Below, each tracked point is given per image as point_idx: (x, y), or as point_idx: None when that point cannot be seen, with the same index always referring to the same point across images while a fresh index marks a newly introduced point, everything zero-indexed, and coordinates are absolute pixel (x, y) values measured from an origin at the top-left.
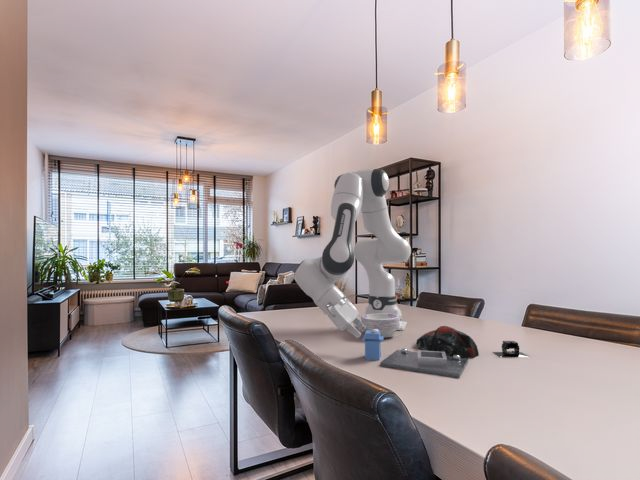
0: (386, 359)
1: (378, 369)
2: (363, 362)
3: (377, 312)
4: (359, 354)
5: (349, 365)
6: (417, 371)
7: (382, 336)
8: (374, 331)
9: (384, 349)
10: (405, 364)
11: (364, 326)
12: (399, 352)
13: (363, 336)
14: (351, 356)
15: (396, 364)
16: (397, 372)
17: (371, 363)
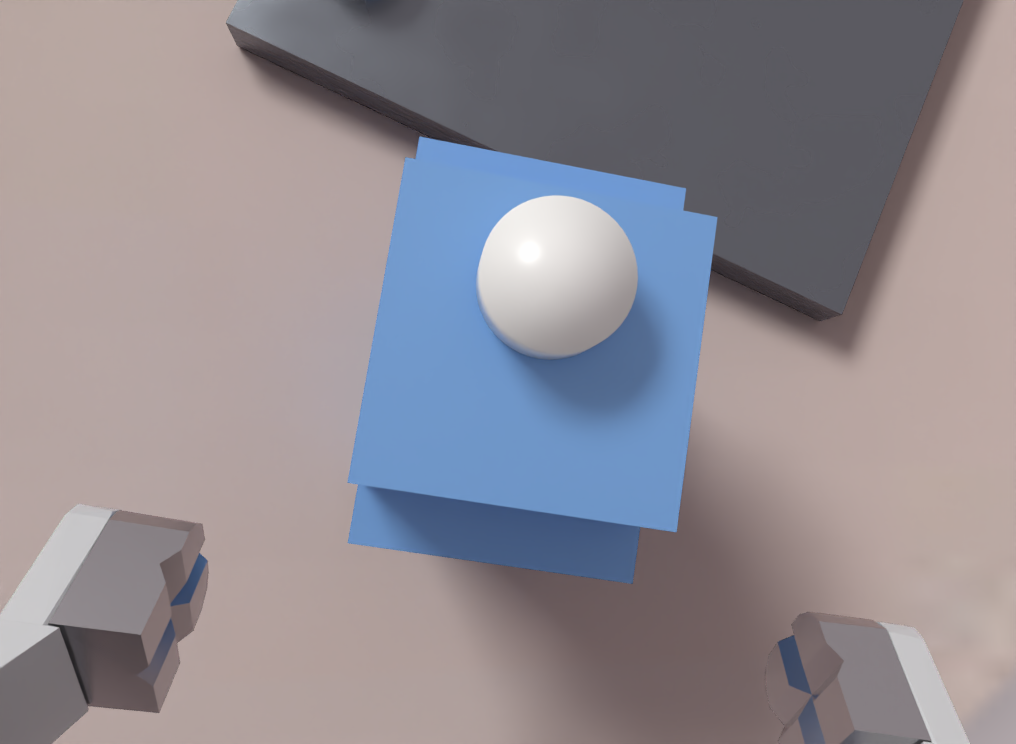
0: (717, 227)
1: (939, 349)
2: (704, 513)
3: None
4: (342, 567)
5: None
6: None
7: (426, 159)
8: (627, 302)
9: (52, 198)
10: (889, 38)
11: (86, 544)
12: (378, 18)
13: (448, 547)
14: (449, 677)
15: (899, 136)
16: (1008, 163)
17: (734, 417)
